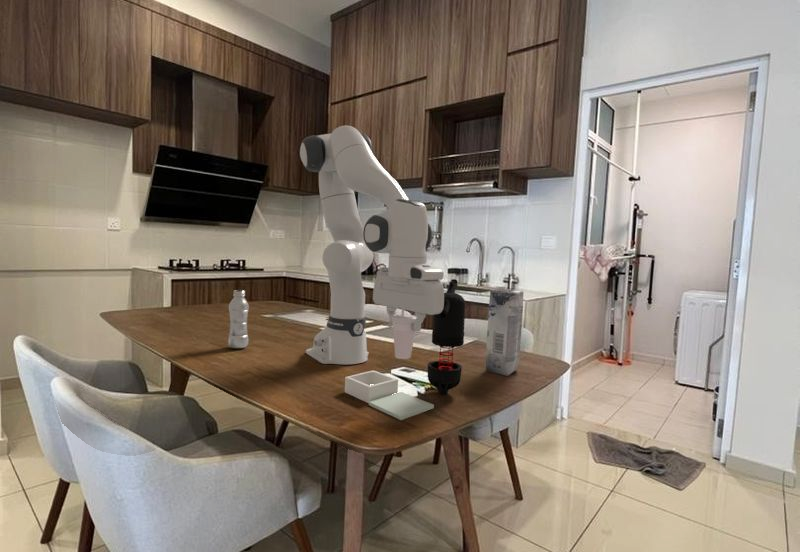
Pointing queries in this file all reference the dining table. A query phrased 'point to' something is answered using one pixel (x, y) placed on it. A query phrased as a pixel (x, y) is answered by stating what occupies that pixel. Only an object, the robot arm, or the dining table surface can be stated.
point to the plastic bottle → (238, 320)
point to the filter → (447, 340)
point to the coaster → (401, 405)
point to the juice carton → (504, 330)
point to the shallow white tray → (363, 390)
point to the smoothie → (403, 334)
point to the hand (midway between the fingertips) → (404, 328)
